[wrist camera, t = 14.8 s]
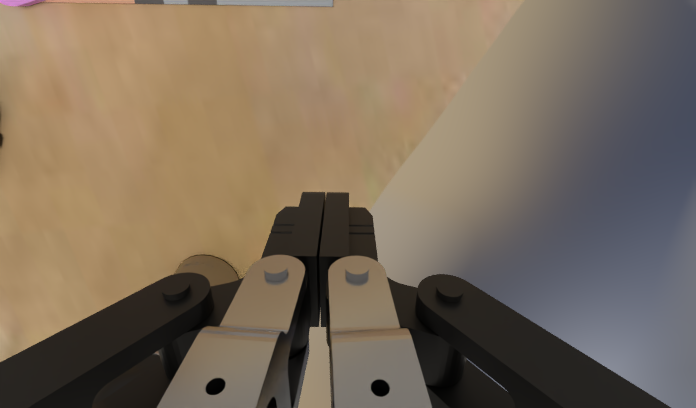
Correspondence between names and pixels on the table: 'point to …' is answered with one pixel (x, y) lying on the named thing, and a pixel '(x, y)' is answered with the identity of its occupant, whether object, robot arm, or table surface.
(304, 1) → the lane
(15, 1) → the bracket
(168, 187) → the table surface
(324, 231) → the robot arm
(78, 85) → the table surface
